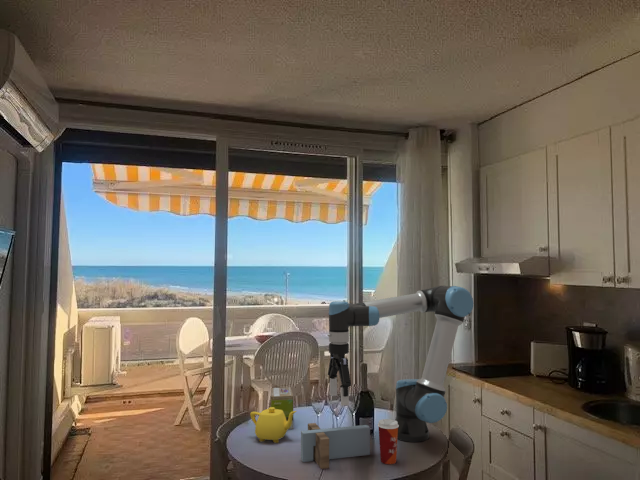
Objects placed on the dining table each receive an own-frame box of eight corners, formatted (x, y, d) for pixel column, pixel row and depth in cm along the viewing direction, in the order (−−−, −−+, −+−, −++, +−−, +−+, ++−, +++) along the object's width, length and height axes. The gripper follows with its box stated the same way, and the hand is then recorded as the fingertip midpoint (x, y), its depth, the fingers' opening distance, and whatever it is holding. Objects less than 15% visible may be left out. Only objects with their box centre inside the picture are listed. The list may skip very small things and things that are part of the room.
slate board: (302, 462, 169) (303, 433, 170) (300, 458, 172) (301, 430, 173) (370, 454, 177) (370, 427, 177) (367, 451, 180) (367, 424, 180)
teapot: (292, 446, 184) (292, 414, 185) (244, 442, 189) (244, 410, 190) (300, 435, 198) (301, 405, 198) (255, 431, 202) (256, 401, 203)
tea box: (270, 419, 218) (270, 387, 219) (292, 418, 219) (292, 386, 220) (270, 430, 203) (270, 395, 204) (293, 429, 205) (294, 394, 206)
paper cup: (396, 466, 166) (396, 426, 167) (375, 463, 168) (375, 423, 169) (401, 458, 173) (400, 419, 174) (380, 455, 176) (380, 417, 177)
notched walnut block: (307, 450, 181) (307, 423, 181) (315, 449, 182) (315, 422, 182) (320, 469, 164) (321, 439, 164) (329, 468, 164) (329, 438, 165)
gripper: (320, 338, 189) (320, 392, 187) (339, 348, 165) (340, 410, 163) (337, 337, 191) (337, 391, 189) (360, 347, 167) (360, 408, 165)
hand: (338, 400), depth 176 cm, fingers open, 13 cm apart
